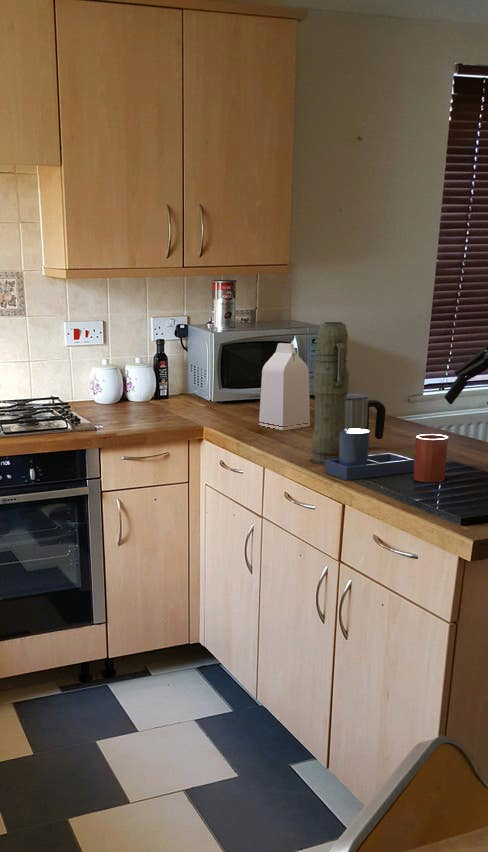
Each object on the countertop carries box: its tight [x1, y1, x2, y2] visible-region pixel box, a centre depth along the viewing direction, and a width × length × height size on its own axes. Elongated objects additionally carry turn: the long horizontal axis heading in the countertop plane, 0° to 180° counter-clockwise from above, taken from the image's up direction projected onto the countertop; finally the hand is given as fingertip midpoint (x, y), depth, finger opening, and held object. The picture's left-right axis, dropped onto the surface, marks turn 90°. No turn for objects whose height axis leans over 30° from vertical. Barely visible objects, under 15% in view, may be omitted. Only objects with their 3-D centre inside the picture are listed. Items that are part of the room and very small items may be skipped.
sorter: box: [324, 452, 415, 481], centre depth 215 cm, size 10×19×3 cm, turn 111°
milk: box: [258, 342, 311, 431], centre depth 280 cm, size 12×12×26 cm
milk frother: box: [345, 393, 387, 440], centre depth 245 cm, size 14×16×15 cm
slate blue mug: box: [339, 429, 370, 467], centre depth 212 cm, size 7×7×10 cm
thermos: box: [311, 321, 350, 465], centre depth 224 cm, size 9×12×35 cm
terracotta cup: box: [413, 433, 449, 483], centre depth 205 cm, size 7×7×10 cm
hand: (468, 403), depth 205 cm, fingers open, 13 cm apart
